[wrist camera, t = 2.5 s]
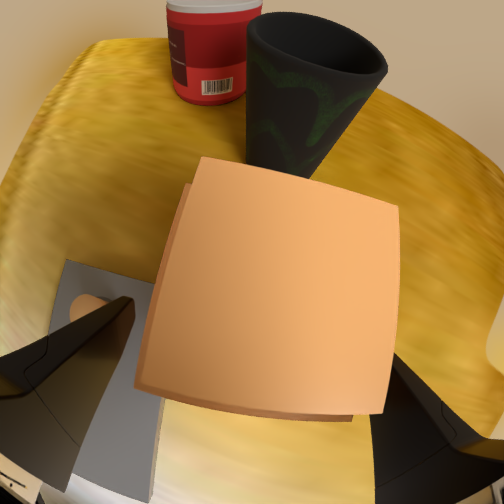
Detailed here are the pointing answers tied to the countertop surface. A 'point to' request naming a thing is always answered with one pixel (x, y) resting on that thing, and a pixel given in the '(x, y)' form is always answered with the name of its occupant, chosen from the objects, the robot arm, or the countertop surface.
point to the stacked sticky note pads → (274, 298)
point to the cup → (303, 88)
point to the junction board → (114, 388)
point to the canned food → (209, 48)
